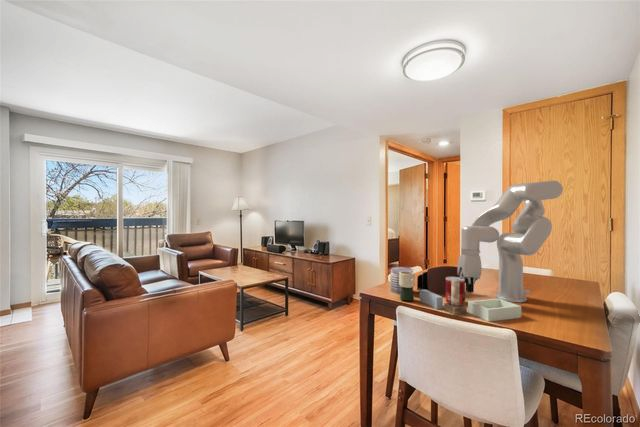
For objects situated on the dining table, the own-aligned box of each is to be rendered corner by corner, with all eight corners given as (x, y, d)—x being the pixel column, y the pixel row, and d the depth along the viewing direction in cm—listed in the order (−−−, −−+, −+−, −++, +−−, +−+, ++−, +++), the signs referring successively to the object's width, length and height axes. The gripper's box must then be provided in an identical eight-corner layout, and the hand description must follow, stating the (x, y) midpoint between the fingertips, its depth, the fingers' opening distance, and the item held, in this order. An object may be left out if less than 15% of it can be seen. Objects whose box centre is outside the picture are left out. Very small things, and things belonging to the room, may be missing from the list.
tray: (498, 308, 117) (498, 298, 117) (521, 317, 108) (521, 306, 108) (467, 312, 113) (468, 301, 113) (488, 321, 104) (488, 309, 104)
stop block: (425, 300, 129) (425, 289, 129) (442, 308, 117) (442, 297, 117) (419, 300, 128) (419, 289, 128) (436, 309, 117) (436, 297, 117)
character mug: (420, 303, 124) (420, 274, 124) (406, 304, 123) (406, 275, 123) (407, 296, 135) (407, 269, 135) (394, 297, 133) (394, 270, 133)
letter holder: (461, 292, 142) (462, 265, 141) (428, 295, 137) (428, 267, 137) (448, 287, 151) (448, 262, 151) (416, 289, 147) (416, 263, 147)
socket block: (456, 308, 117) (456, 301, 117) (466, 313, 112) (466, 306, 112) (444, 310, 116) (444, 303, 116) (454, 315, 110) (454, 307, 110)
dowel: (455, 310, 116) (455, 279, 115) (460, 312, 113) (461, 281, 113) (449, 311, 115) (449, 280, 115) (454, 313, 112) (455, 281, 112)
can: (417, 294, 138) (417, 270, 138) (396, 295, 136) (397, 271, 136) (405, 288, 149) (405, 266, 149) (386, 289, 147) (386, 267, 147)
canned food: (467, 305, 122) (467, 281, 121) (447, 304, 123) (448, 280, 123) (461, 300, 129) (462, 277, 129) (443, 299, 131) (443, 276, 131)
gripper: (476, 251, 134) (476, 288, 134) (450, 252, 130) (450, 290, 130) (489, 253, 126) (489, 293, 126) (462, 254, 123) (462, 295, 123)
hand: (469, 291), depth 128 cm, fingers closed
